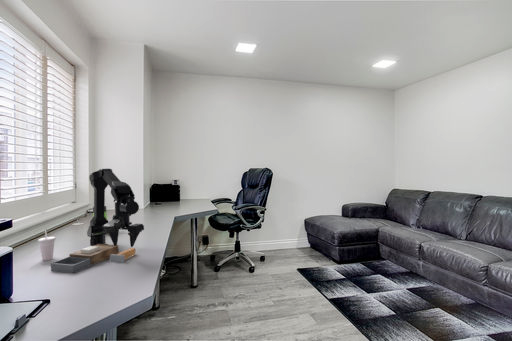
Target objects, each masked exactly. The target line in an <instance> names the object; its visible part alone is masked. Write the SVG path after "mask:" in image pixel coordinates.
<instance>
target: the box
mask: <svg viewBox="0 0 512 341" xmlns="http://www.w3.org/2000/svg"><path fill="white" fill-rule="evenodd" d="M90 266H92V265H91V260H90V258H79V257H70V256H66V257H64V258H61V259H59V260H55V261H52V262H51V263H50V270H51V271H53V272H61V273H62V272H63V273H69V274H75V273H77V272H79V271H82V270H83V269H86V268H89V267H90Z"/></svg>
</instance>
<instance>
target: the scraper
mask: <svg viewBox="0 0 512 341" xmlns="http://www.w3.org/2000/svg"><path fill="white" fill-rule="evenodd" d="M134 254H135V255H136V248H134V247H130V248H128V249H126V250H123V251H120V252H119V253H118V254H111V255H110V257H109V262H113V263H126V262H125V261H126V258H127V259H129V258H130V256H131V257H133V256H135V255H134ZM132 255H133V256H132ZM128 257H129V258H128Z"/></svg>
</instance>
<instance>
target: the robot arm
mask: <svg viewBox="0 0 512 341" xmlns="http://www.w3.org/2000/svg"><path fill="white" fill-rule="evenodd" d="M88 179H89V182H90V183H89V184H90V185H91V187H92V188H93V207H94V217H92V218H91V220H90V222H89V226H88V229H87V231H86V235H87V237H89V238H90V239H89V244H90V246H94V245H97V244H107V242H106V235H108V236H109V238H110V240H111V241H112V245H114V246H116V245H118V242H119V232H120V230H125V231H127V232H128V233H127V235H128V236H129V244H130V245H129V246H130V248H134V245H135V243H136V241H137V239H138V236H139V234H140V233H141V232H142V231H144V230H145V225H144V224H143V223H135V224H132V223H133V222H132V221H131V220H130V217H131V216H132V215H135V214H136V213H138V211H139V208H140V205H139V204H138V202H137V201H135V198H136V197H135V194H134V192H133V189H132V187H131V186H130V185H129V183H127V182H124V181H121V180H120V179H119V178H118V176H117V175H116V174H115V173H114V172H113V169H112V168H100V169H98V170H97V171H93V172H92V173H90V174H89V178H88ZM108 186H109V188H110V194H111V196H112V198H113V203H114V215H113V216H112V220H108V218H107V219H106V218H105V216H104V210H105V206H106V205H105V202H106V201H105V199H106V197H105V195H106V194H105V192H106V191H105V190H106V188H107V187H108Z"/></svg>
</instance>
